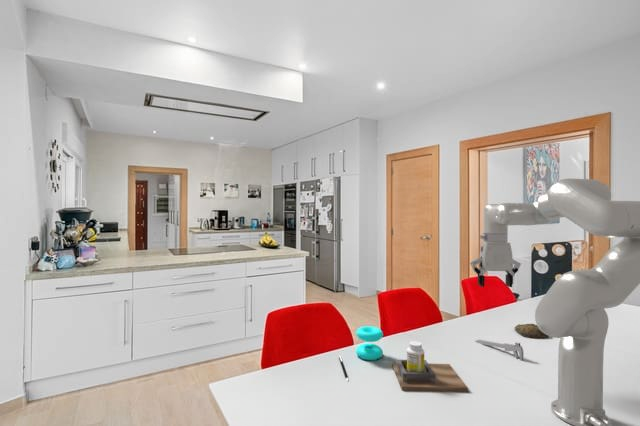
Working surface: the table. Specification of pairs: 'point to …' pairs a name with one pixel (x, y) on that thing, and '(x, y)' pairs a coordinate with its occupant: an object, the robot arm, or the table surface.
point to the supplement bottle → (415, 357)
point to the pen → (343, 368)
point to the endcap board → (429, 378)
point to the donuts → (368, 349)
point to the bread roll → (530, 331)
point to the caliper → (506, 347)
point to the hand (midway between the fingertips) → (495, 286)
